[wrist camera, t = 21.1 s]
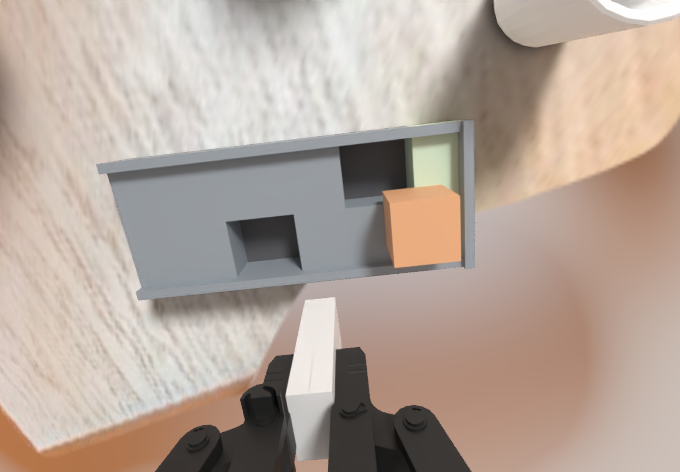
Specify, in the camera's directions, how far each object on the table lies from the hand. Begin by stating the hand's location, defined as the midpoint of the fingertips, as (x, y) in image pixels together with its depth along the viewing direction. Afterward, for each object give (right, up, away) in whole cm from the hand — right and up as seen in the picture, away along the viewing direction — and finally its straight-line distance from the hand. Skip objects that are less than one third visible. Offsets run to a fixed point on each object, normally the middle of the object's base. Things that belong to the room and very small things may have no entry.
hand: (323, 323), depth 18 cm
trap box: (-3, +7, +17) cm, 19 cm away
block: (+7, +6, +13) cm, 16 cm away
